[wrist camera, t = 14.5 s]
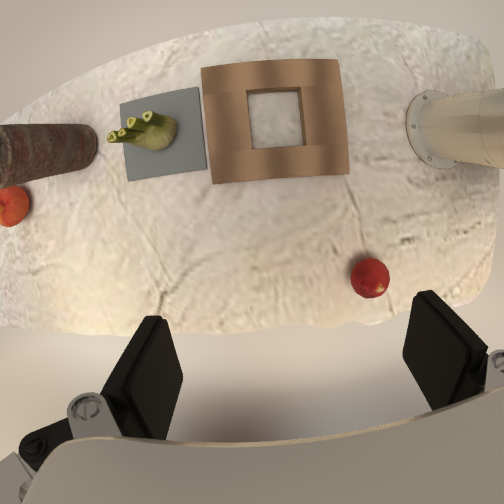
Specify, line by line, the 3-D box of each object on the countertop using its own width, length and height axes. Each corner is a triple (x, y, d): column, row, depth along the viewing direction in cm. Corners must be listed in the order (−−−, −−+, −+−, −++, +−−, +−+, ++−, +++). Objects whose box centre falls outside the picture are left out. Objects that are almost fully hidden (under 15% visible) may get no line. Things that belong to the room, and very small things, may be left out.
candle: (108, 152, 39) (17, 162, 20) (77, 180, 40) (-13, 206, 21) (87, 115, 36) (-4, 107, 18) (58, 144, 38) (-32, 153, 19)
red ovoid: (365, 291, 45) (382, 316, 38) (338, 275, 44) (352, 299, 37) (385, 262, 43) (406, 283, 36) (359, 244, 43) (378, 264, 35)
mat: (198, 87, 35) (197, 86, 35) (207, 169, 39) (206, 169, 39) (121, 104, 36) (119, 104, 36) (129, 181, 40) (128, 181, 39)
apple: (14, 219, 42) (-13, 230, 35) (12, 181, 40) (-17, 189, 32) (37, 221, 42) (10, 233, 35) (35, 181, 40) (6, 188, 32)
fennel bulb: (182, 116, 36) (153, 103, 25) (180, 150, 38) (150, 151, 27) (143, 118, 36) (103, 109, 25) (142, 151, 38) (101, 153, 27)
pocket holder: (332, 65, 34) (337, 59, 31) (343, 172, 39) (349, 174, 36) (204, 73, 35) (200, 68, 32) (215, 182, 40) (212, 184, 37)
